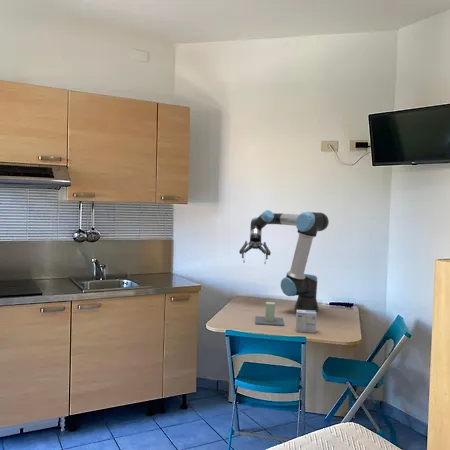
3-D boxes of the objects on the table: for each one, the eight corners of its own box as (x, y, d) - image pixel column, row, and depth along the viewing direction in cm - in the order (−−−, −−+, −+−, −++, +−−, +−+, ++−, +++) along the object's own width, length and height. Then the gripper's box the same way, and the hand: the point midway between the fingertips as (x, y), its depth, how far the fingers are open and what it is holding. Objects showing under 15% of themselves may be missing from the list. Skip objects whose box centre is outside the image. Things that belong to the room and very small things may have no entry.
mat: (282, 319, 274) (282, 317, 274) (284, 326, 258) (284, 324, 258) (255, 317, 275) (255, 316, 275) (255, 324, 259) (255, 323, 259)
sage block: (273, 319, 269) (274, 302, 269) (274, 321, 264) (274, 304, 264) (265, 319, 270) (265, 301, 269) (265, 321, 265) (266, 303, 264)
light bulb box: (315, 329, 254) (316, 310, 253) (316, 333, 247) (317, 313, 246) (295, 328, 255) (296, 309, 254) (295, 331, 248) (296, 311, 247)
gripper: (273, 241, 315) (273, 266, 301) (237, 239, 317) (235, 264, 302) (274, 234, 309) (274, 259, 295) (237, 232, 311) (235, 257, 297)
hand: (254, 262), depth 299 cm, fingers open, 13 cm apart
